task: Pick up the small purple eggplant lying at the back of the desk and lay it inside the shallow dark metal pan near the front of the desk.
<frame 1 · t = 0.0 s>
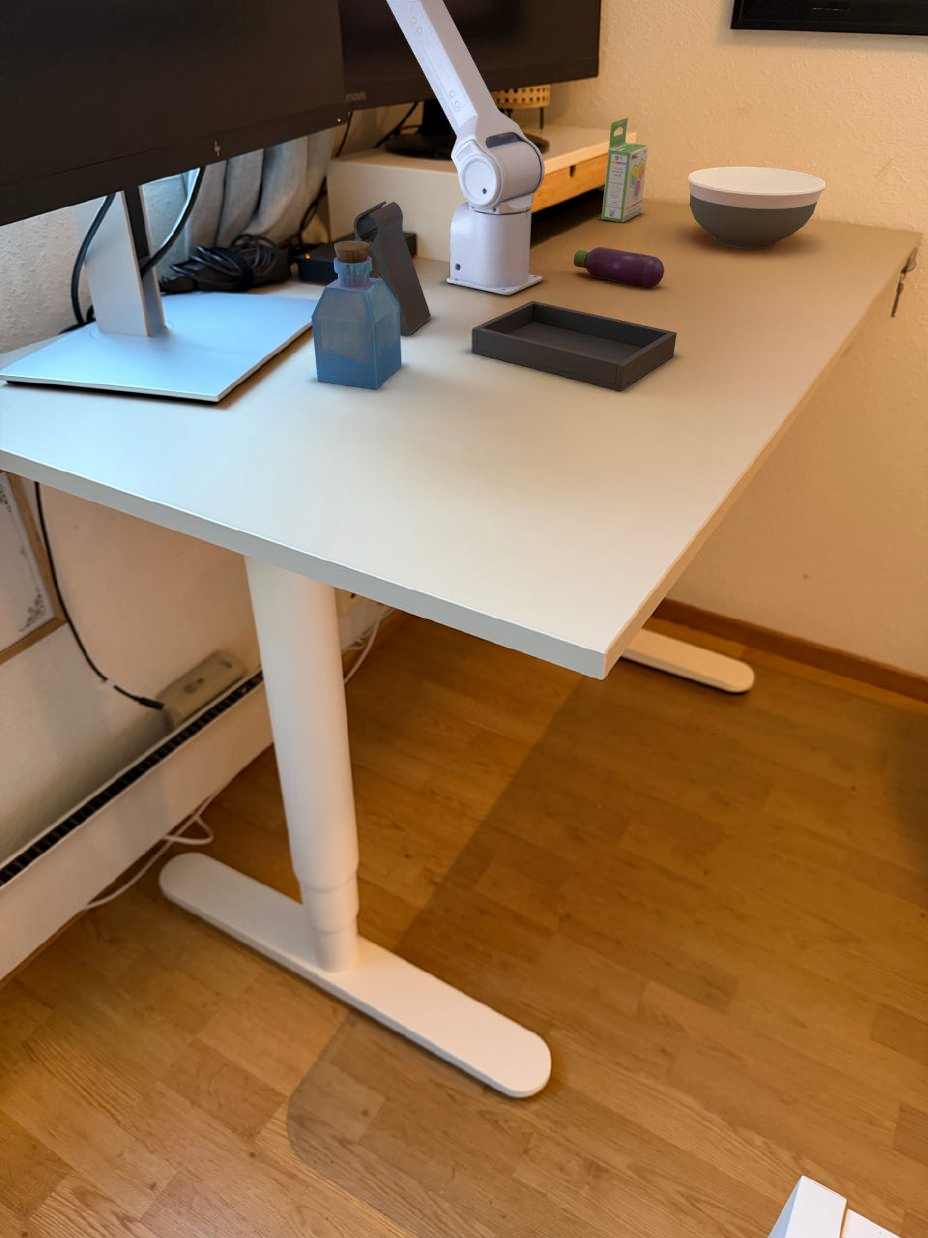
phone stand: (383, 324, 100), on the table
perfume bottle: (360, 375, 88), on the table
eggplant: (622, 281, 113), on the table
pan: (572, 354, 92), on the table
bowl: (744, 242, 129), on the table
green white box: (621, 218, 141), on the table
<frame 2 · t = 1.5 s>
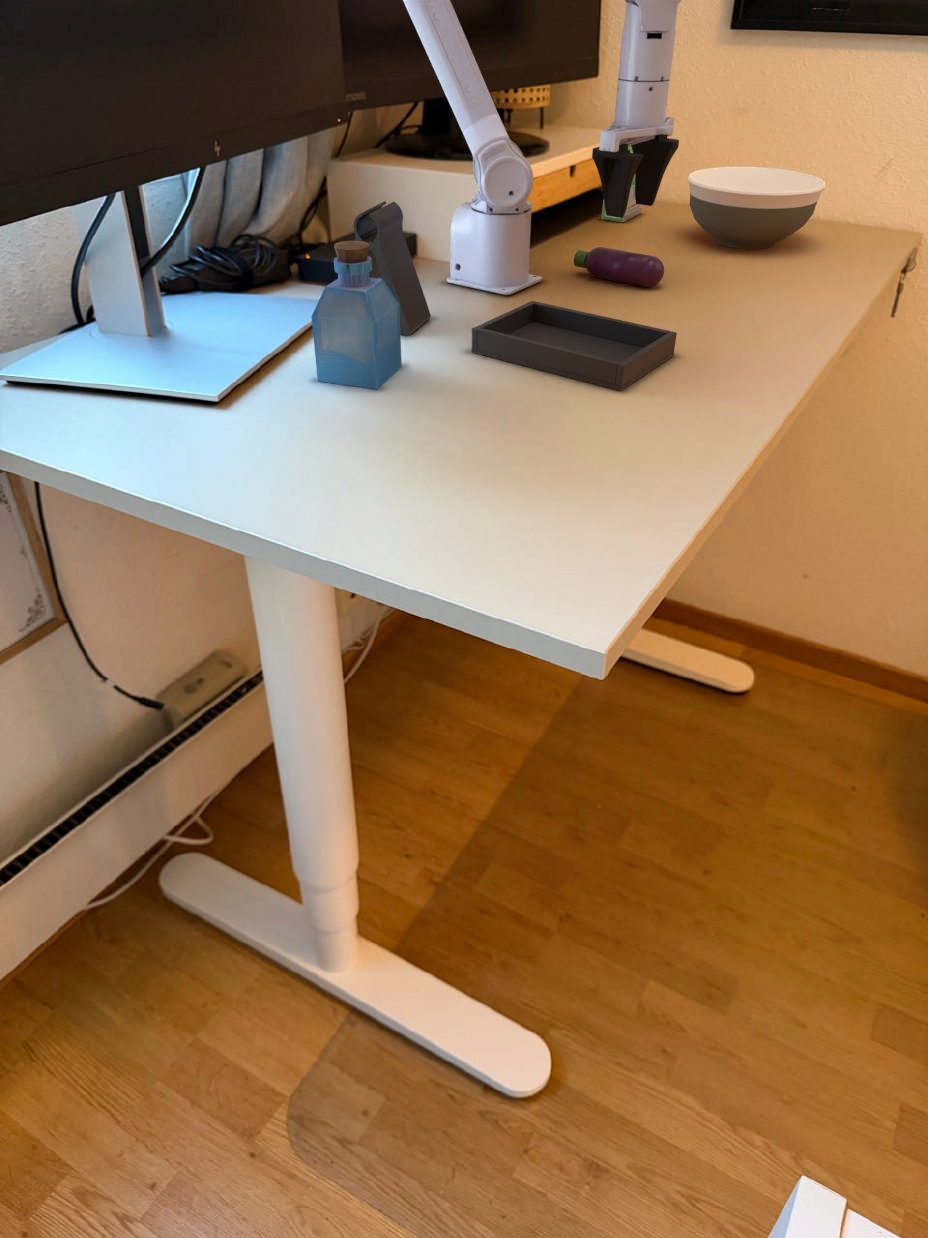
hand: (630, 210, 108), 8 cm above the table, tool pointing down, fingers open, 7 cm apart
nothing on the table moved.
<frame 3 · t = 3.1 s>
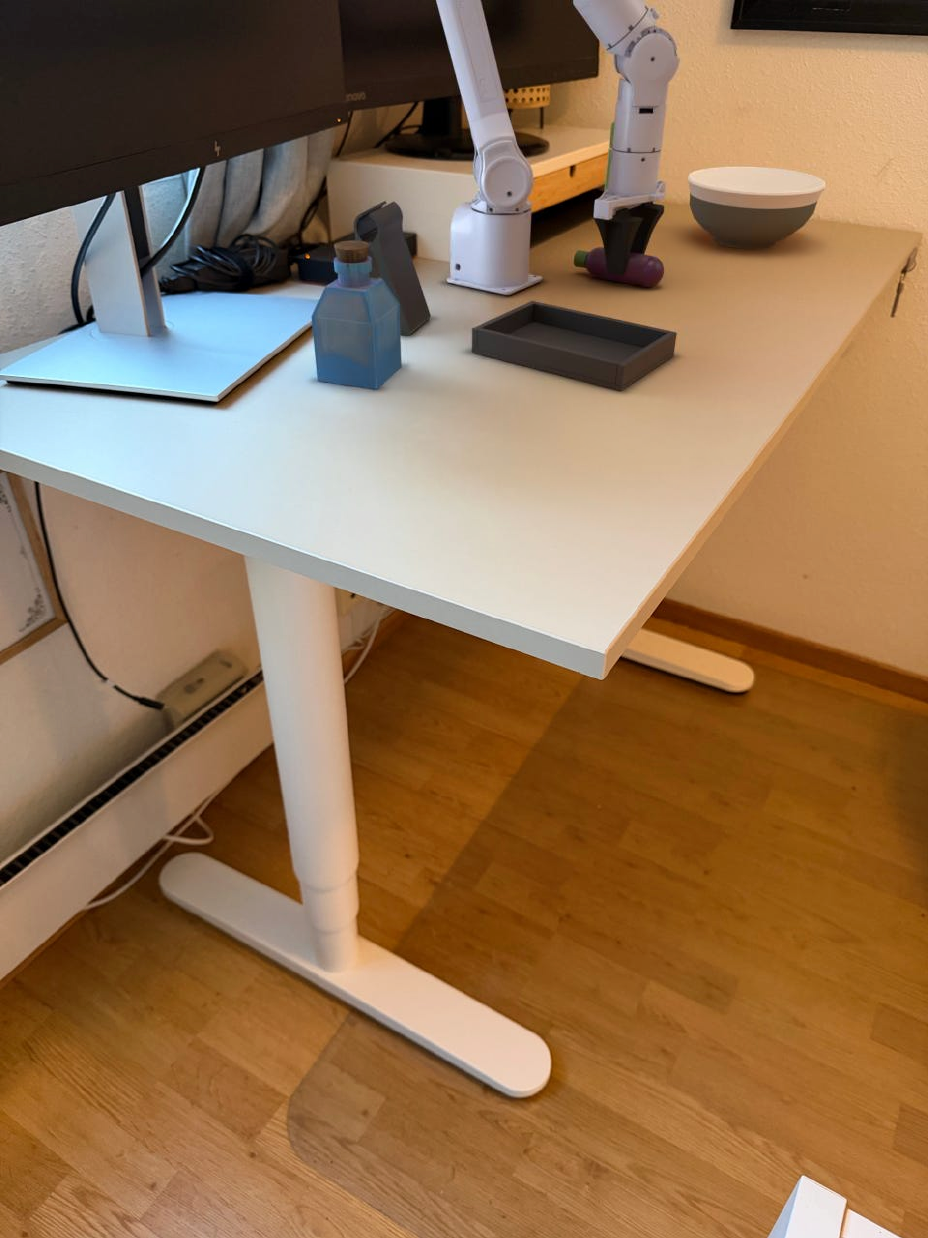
hand: (623, 270, 112), 1 cm above the table, tool pointing down, fingers closed on eggplant, 3 cm apart
eggplant: (622, 281, 113), on the table, touching gripper
everything else where it was.
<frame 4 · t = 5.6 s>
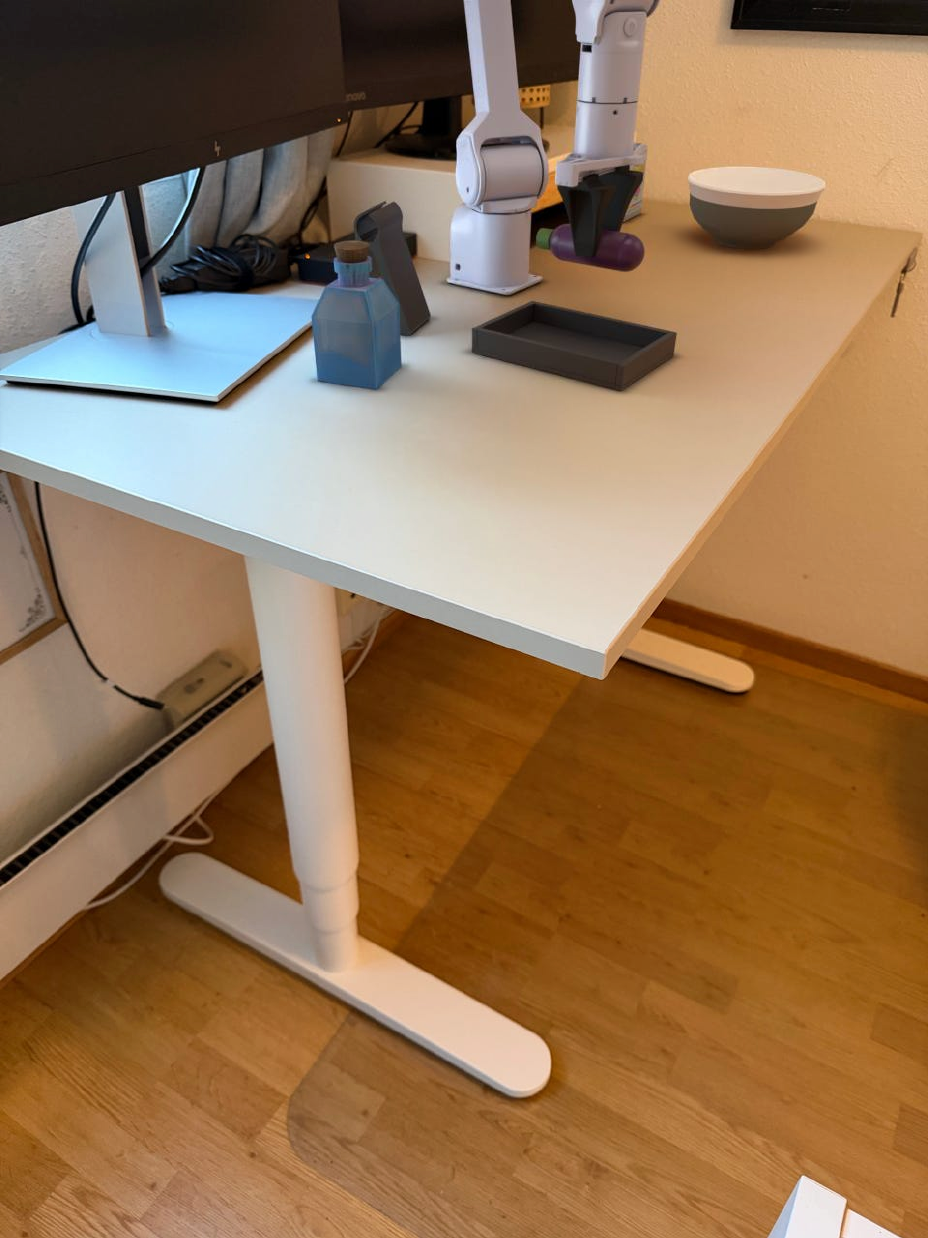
hand: (594, 251, 92), 8 cm above the table, tool pointing down, fingers closed on eggplant, 3 cm apart
eggplant: (594, 265, 93), point 7 cm above the table, touching gripper
everything else where it was.
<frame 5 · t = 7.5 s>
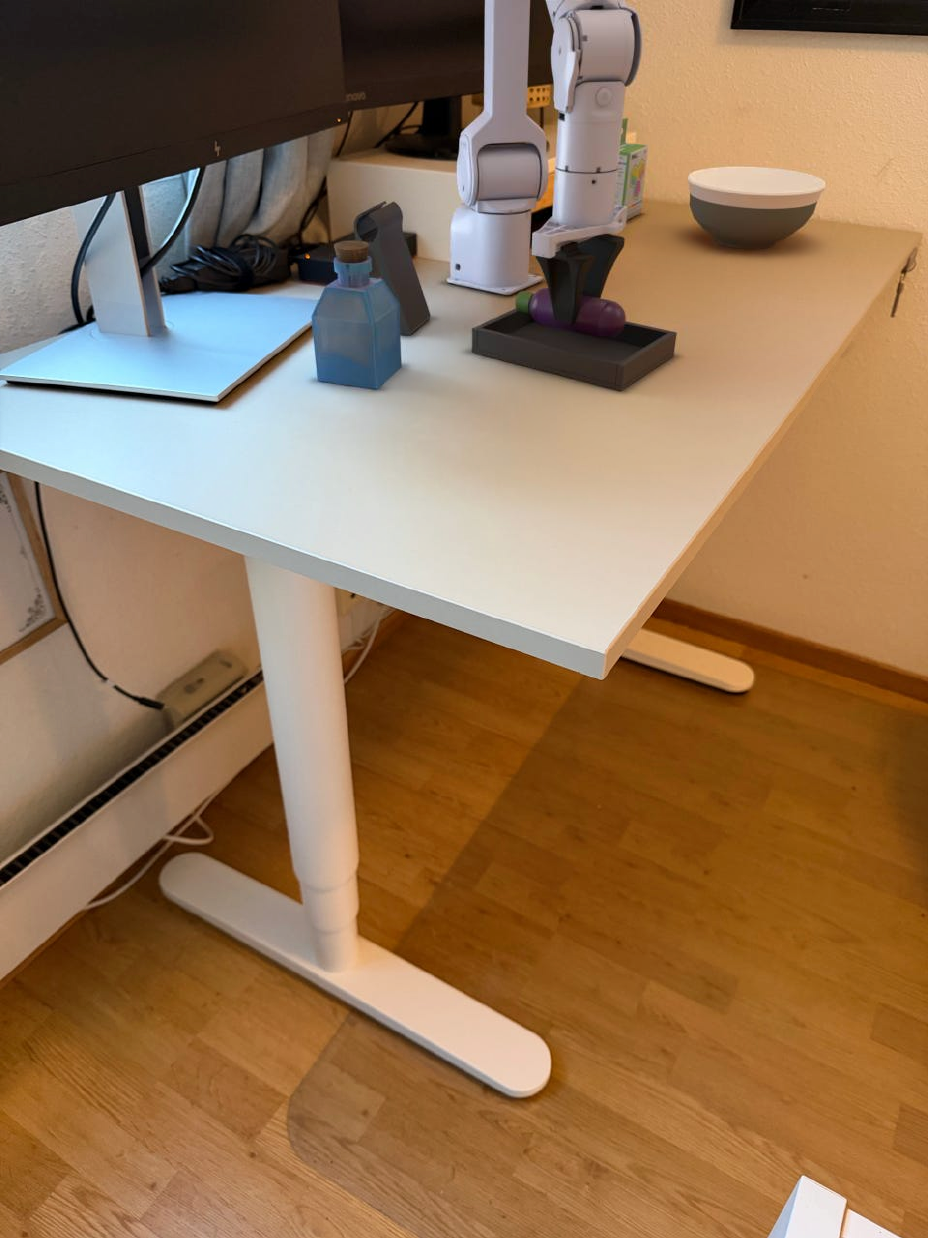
hand: (575, 316, 90), 4 cm above the table, tool pointing down, fingers closed on eggplant, 3 cm apart
eggplant: (575, 330, 91), point 2 cm above the table, touching gripper
everything else where it was.
when the fingers open (2 cm above the table, at t = 8.5 s): eggplant stays where it is, resting on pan.
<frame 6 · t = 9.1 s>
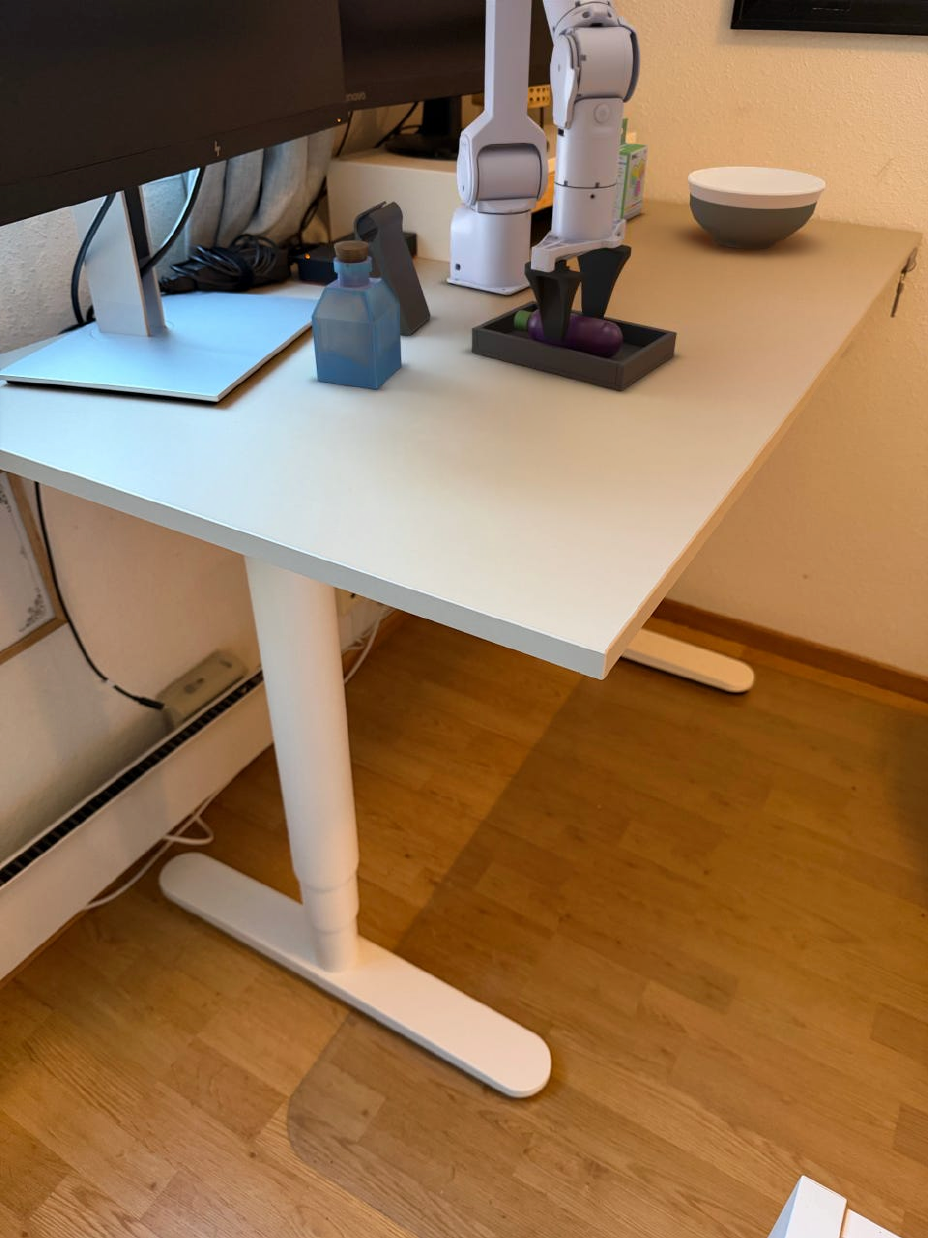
hand: (574, 328, 90), 3 cm above the table, tool pointing down, fingers open, 7 cm apart
eggplant: (573, 349, 92), point 1 cm above the table, tilted 5°, touching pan
everything else where it was.
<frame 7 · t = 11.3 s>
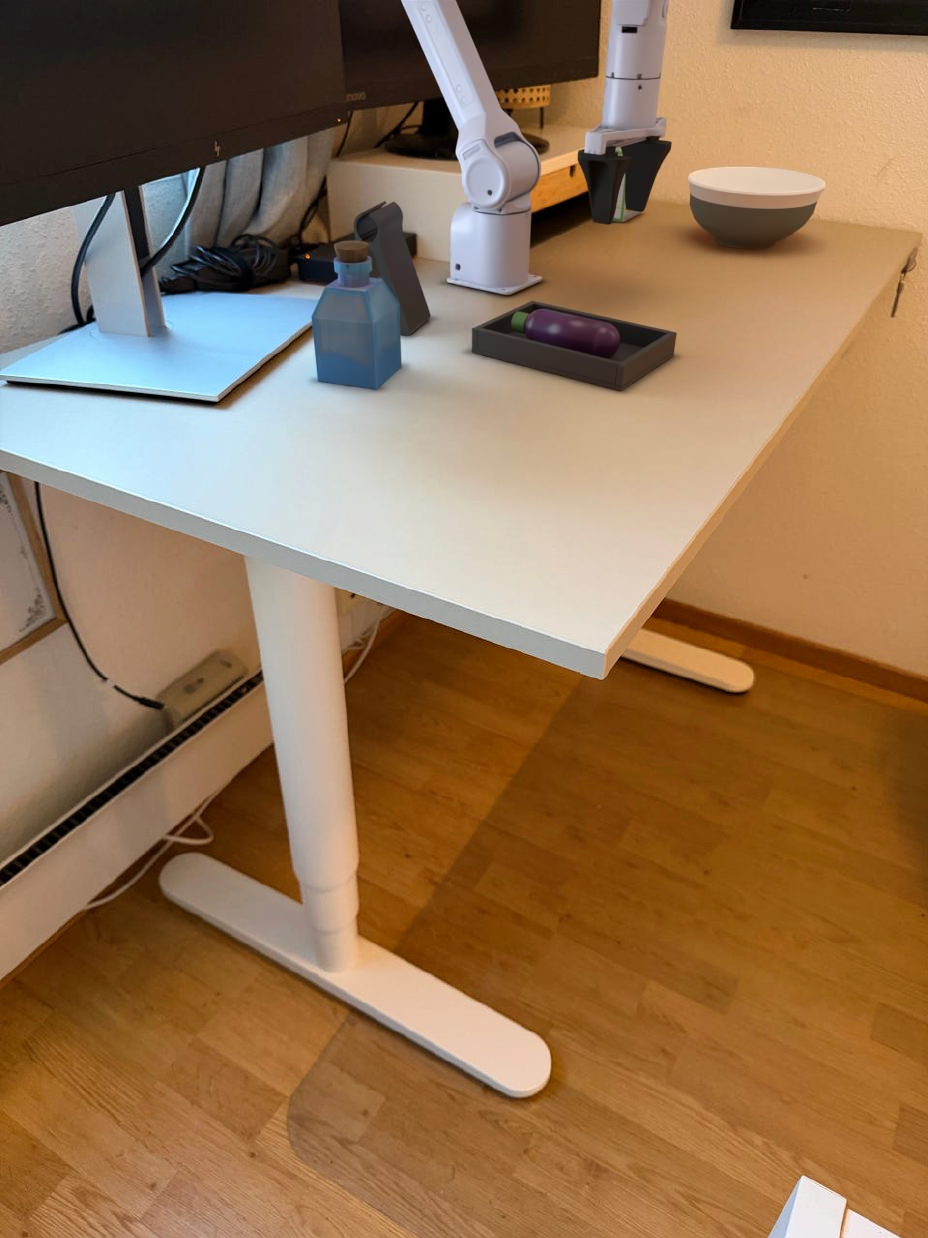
hand: (619, 216, 101), 9 cm above the table, tool pointing down, fingers open, 7 cm apart
eggplant: (573, 348, 92), point 1 cm above the table, tilted 22°, touching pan
everything else where it was.
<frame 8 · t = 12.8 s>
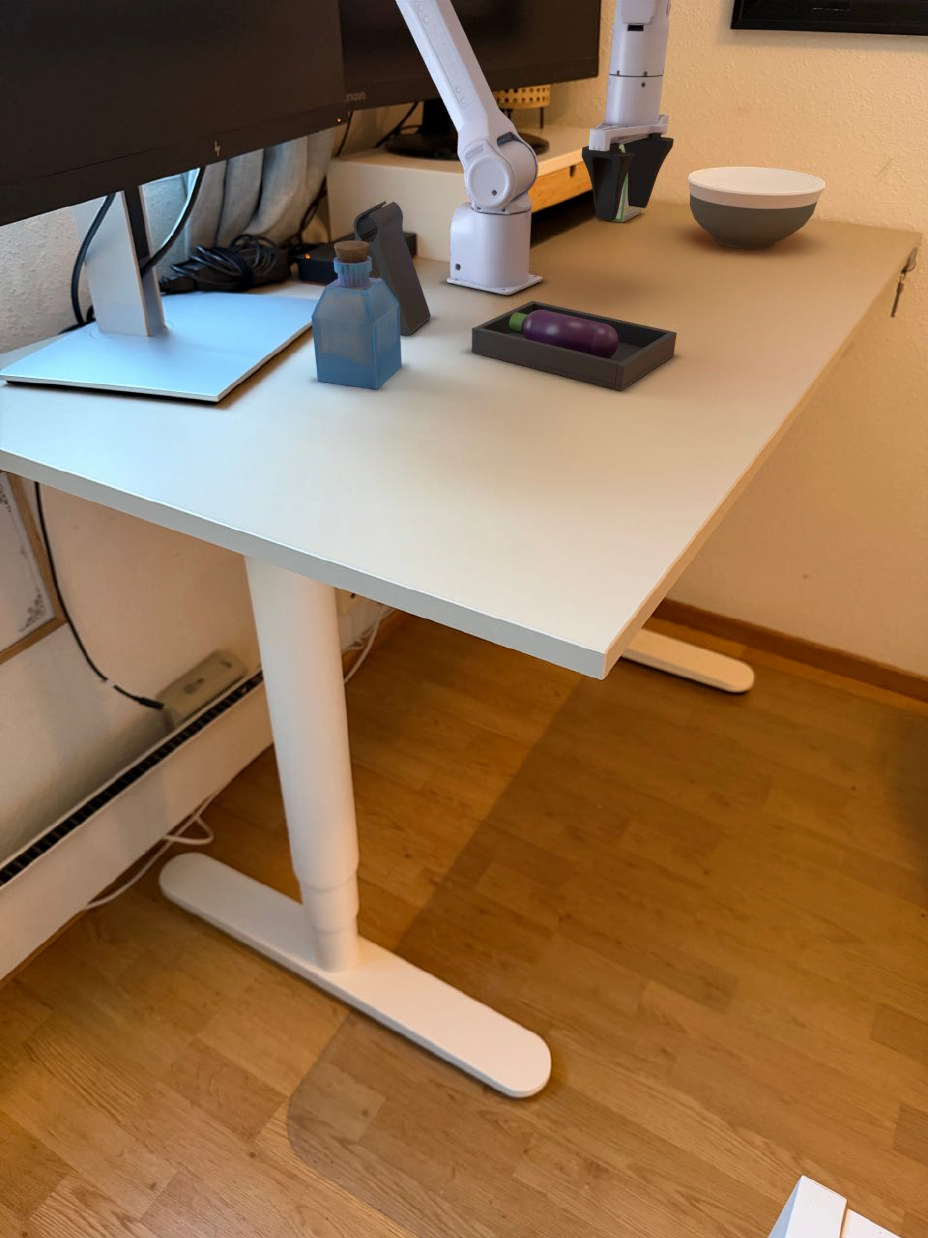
hand: (622, 212, 102), 9 cm above the table, tool pointing down, fingers open, 7 cm apart
eggplant: (573, 346, 91), point 1 cm above the table, tilted 34°, touching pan
everything else where it was.
at the end: eggplant inside the target area in the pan (0.1 cm from its centre), point 0.8 cm above the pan's base; the gripper is holding nothing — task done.
